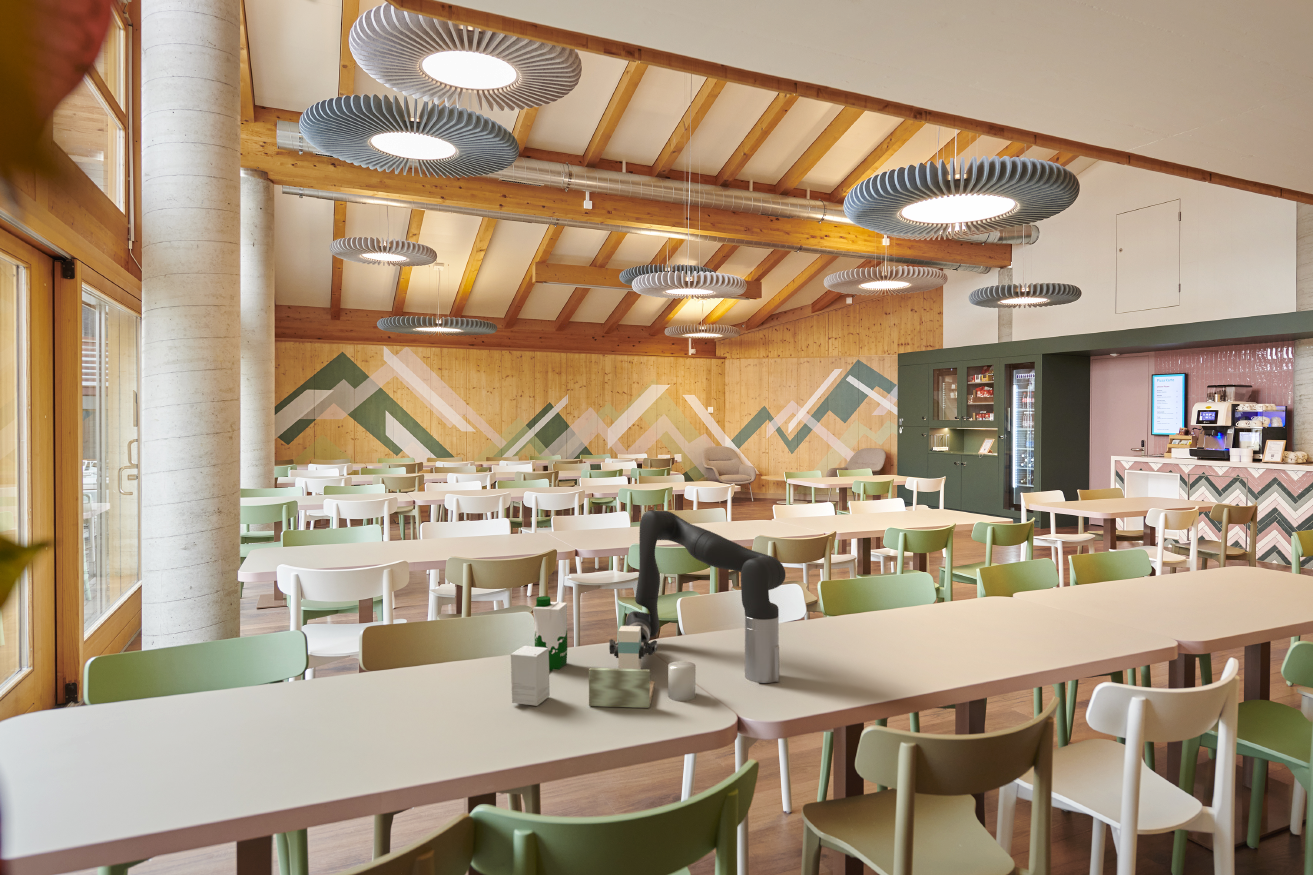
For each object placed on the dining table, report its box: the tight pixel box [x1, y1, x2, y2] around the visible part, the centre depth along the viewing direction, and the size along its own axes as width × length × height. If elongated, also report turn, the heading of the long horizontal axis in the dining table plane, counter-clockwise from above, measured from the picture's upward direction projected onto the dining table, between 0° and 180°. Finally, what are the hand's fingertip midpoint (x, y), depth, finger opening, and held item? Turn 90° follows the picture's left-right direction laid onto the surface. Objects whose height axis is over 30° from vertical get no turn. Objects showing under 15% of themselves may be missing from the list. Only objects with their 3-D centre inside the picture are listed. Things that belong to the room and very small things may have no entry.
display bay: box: [588, 667, 656, 709], centre depth 198 cm, size 15×14×9 cm
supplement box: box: [510, 645, 551, 707], centre depth 196 cm, size 7×7×13 cm
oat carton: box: [617, 625, 642, 669], centre depth 212 cm, size 6×6×14 cm
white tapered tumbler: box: [667, 660, 697, 702], centre depth 199 cm, size 7×7×8 cm
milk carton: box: [532, 595, 568, 672], centre depth 223 cm, size 9×9×20 cm
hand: (628, 654), depth 210 cm, fingers closed on oat carton, 5 cm apart
